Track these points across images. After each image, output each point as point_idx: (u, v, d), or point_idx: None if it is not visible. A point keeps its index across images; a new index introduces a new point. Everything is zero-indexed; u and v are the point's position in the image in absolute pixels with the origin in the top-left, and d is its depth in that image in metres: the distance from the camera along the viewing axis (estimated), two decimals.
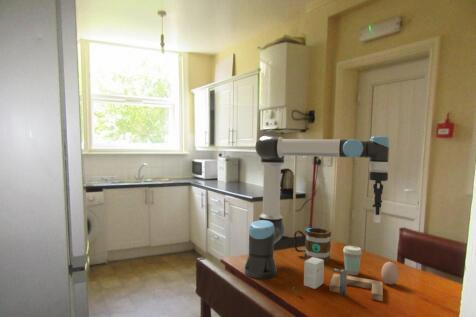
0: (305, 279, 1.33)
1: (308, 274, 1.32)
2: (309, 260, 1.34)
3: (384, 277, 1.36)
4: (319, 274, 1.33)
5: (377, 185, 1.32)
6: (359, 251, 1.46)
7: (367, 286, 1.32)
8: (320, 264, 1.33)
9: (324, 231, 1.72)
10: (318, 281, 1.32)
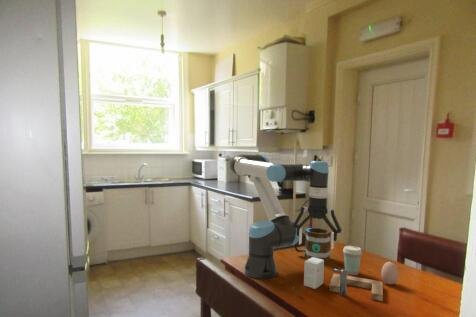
0: (305, 279, 1.33)
1: (308, 274, 1.32)
2: (309, 260, 1.34)
3: (384, 277, 1.36)
4: (319, 274, 1.33)
5: (301, 208, 1.37)
6: (359, 251, 1.46)
7: (367, 286, 1.32)
8: (320, 264, 1.33)
9: (324, 231, 1.72)
10: (318, 281, 1.32)
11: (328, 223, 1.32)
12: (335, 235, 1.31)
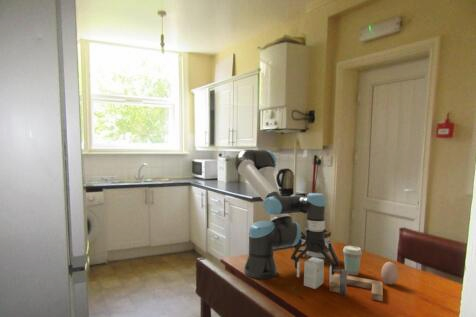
0: (305, 279, 1.33)
1: (308, 274, 1.32)
2: (309, 260, 1.34)
3: (384, 277, 1.36)
4: (319, 274, 1.33)
5: None
6: (359, 251, 1.46)
7: (367, 286, 1.32)
8: (320, 264, 1.33)
9: (324, 231, 1.72)
10: (318, 281, 1.32)
11: (326, 256, 1.31)
12: (333, 268, 1.31)
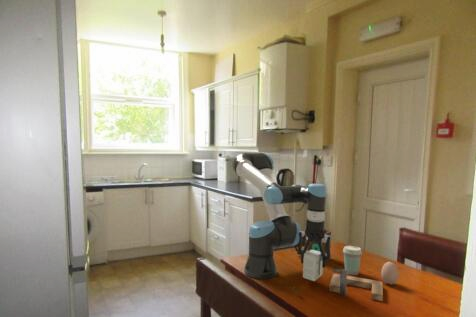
0: (304, 271, 1.33)
1: (307, 266, 1.33)
2: (308, 252, 1.35)
3: (384, 277, 1.36)
4: (318, 266, 1.34)
5: None
6: (359, 251, 1.46)
7: (367, 286, 1.32)
8: (319, 256, 1.33)
9: (324, 231, 1.72)
10: (317, 273, 1.33)
11: (320, 248, 1.33)
12: (324, 262, 1.33)
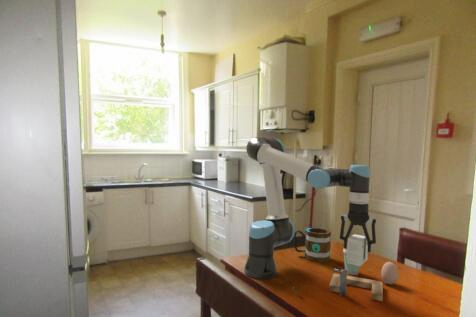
0: (348, 256, 1.27)
1: (351, 251, 1.26)
2: (352, 237, 1.29)
3: (384, 277, 1.36)
4: (363, 251, 1.27)
5: None
6: None
7: (367, 286, 1.32)
8: (364, 240, 1.27)
9: (324, 231, 1.72)
10: (362, 258, 1.26)
11: (365, 232, 1.26)
12: (369, 246, 1.26)
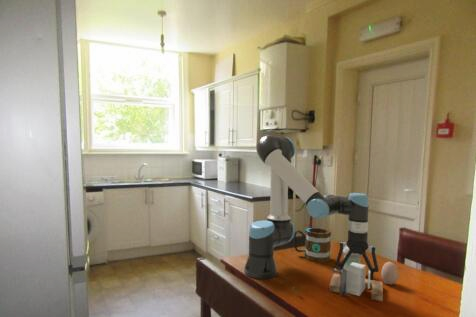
0: (347, 286, 1.27)
1: (350, 280, 1.27)
2: (351, 266, 1.29)
3: (384, 277, 1.36)
4: (362, 280, 1.28)
5: None
6: None
7: (367, 286, 1.32)
8: (363, 270, 1.28)
9: (324, 231, 1.72)
10: (361, 288, 1.27)
11: (366, 260, 1.26)
12: (372, 274, 1.26)
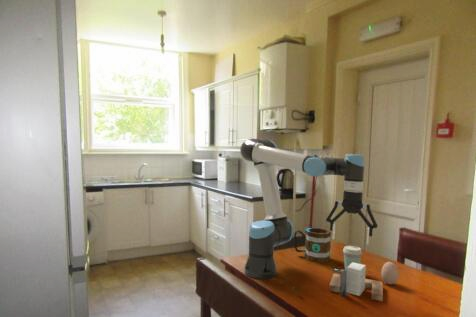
0: (347, 286, 1.27)
1: (350, 280, 1.27)
2: (351, 266, 1.29)
3: (384, 277, 1.36)
4: (362, 280, 1.28)
5: (335, 202, 1.34)
6: (359, 251, 1.46)
7: (367, 286, 1.32)
8: (363, 270, 1.28)
9: (324, 231, 1.72)
10: (361, 288, 1.27)
11: (363, 218, 1.28)
12: (371, 230, 1.28)
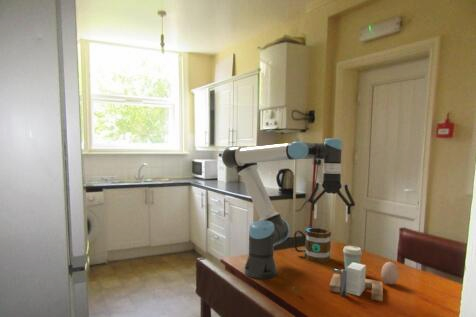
0: (347, 286, 1.27)
1: (350, 280, 1.27)
2: (351, 266, 1.29)
3: (384, 277, 1.36)
4: (362, 280, 1.28)
5: (316, 184, 1.44)
6: (359, 251, 1.46)
7: (367, 286, 1.32)
8: (363, 270, 1.28)
9: (324, 231, 1.72)
10: (361, 288, 1.27)
11: (342, 197, 1.38)
12: (349, 208, 1.38)
